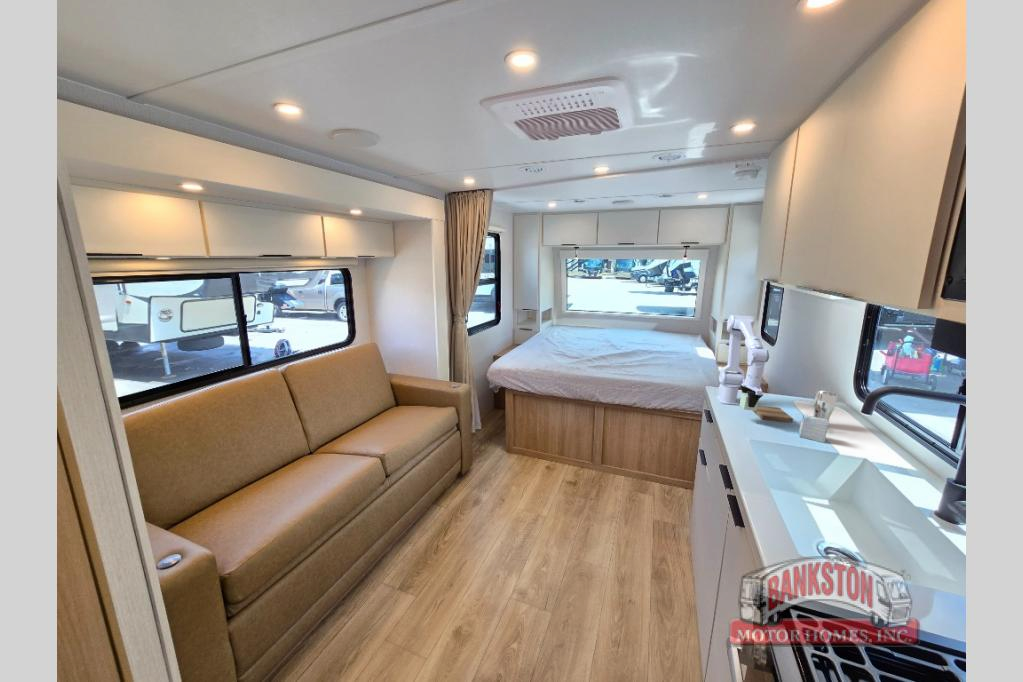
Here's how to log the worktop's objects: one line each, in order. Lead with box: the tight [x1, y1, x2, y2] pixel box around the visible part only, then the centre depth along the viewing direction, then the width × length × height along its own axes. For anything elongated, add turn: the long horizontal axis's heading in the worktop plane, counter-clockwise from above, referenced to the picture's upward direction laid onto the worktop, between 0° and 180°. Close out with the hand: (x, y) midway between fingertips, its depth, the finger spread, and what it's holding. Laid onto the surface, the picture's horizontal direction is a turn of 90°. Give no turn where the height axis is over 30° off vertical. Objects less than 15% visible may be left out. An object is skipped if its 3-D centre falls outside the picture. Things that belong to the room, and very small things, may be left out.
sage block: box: [739, 392, 760, 412], centre depth 157 cm, size 5×5×6 cm
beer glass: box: [813, 389, 838, 424], centre depth 155 cm, size 7×7×15 cm
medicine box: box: [798, 414, 830, 444], centre depth 144 cm, size 8×4×9 cm, turn 56°
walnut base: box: [751, 405, 794, 424], centre depth 165 cm, size 12×12×2 cm
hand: (748, 404), depth 157 cm, fingers closed on sage block, 5 cm apart
